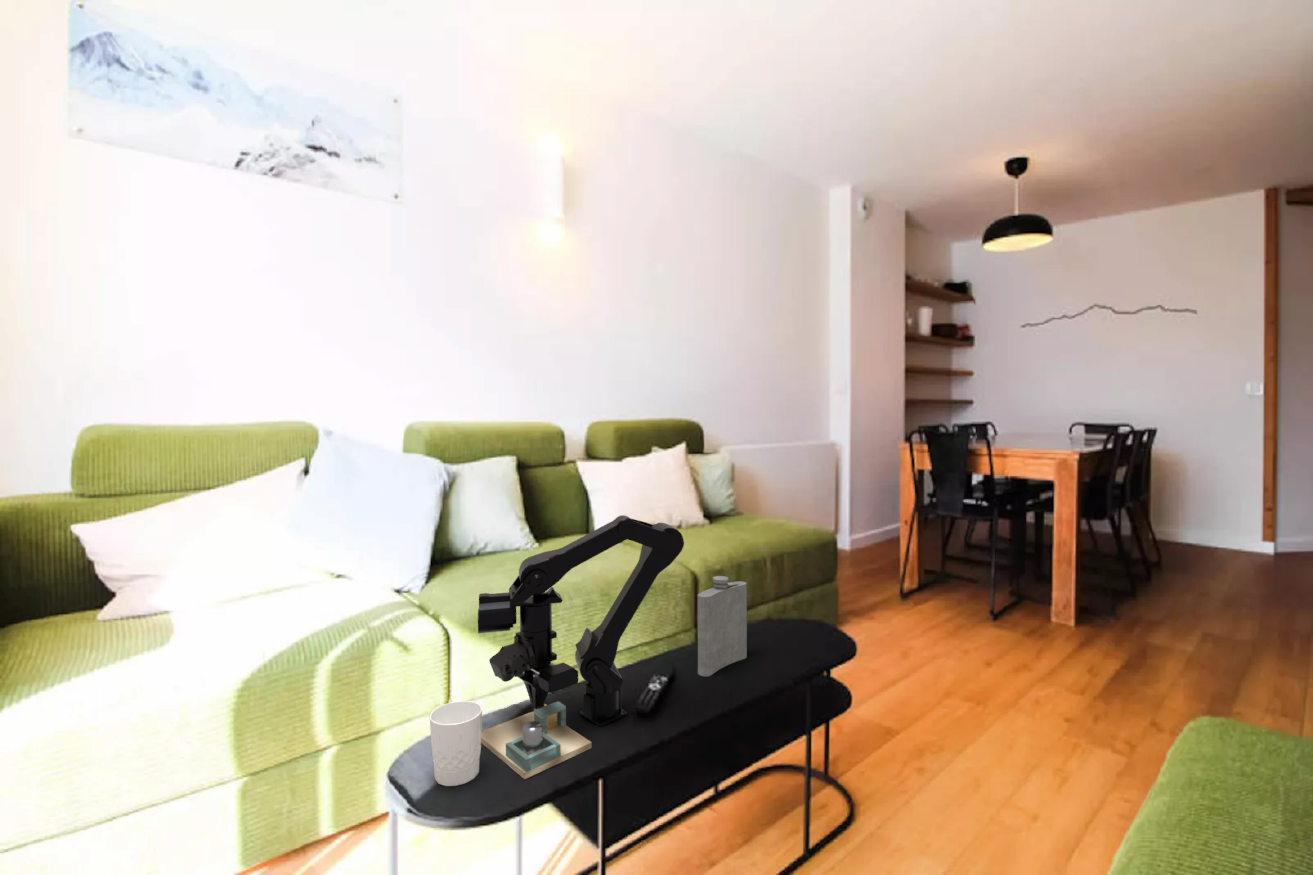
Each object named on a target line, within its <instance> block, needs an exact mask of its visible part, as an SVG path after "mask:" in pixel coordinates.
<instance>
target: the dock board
mask: <svg viewBox="0 0 1313 875" xmlns="http://www.w3.org/2000/svg"><path fill="white" fill-rule="evenodd" d="M546 705H547V706H544V707H541V708H539V709H536V710H533V711H530V712H528V713H525V714H523V715H520V716H517V717H515V718H512V719H509V720H507V721H504V722H502V723H501V722H500V723H498V724H497V725H494V726H491V727H489V728H486V729H483V730H481V745H483V746H484V747H486V749H488V750H489V751H490V752H491V753H492V754H493V755H495V756H496V757H497V758H498V759H499V760H501V761H502V762H503V763H504V764H506V765H507V766H508V767H509V768H510V769H512V770H513V771H514V772H515V773H516V774H518V775H519V776H520V778H522V779H523V780H527V779H529V778H531V777H533V776H535V775H537V774H539V773H541V772H543V771H547V770H548V769H550V768H552V767H554V766H556V765H558V764H560V763H563V762H565V761H566V760H570V759H571V758H573V757H577V756H578V755H580V754H583V753H584V752H587V751H589V750H590V749H593V748H592V747H593V744H592V741H591V740H589V739H587V738H586V737H585V736H583V735H582V734H580V733H578V732H577V731H575V730H573V729H572V728H570V727H569V726H568V725H567V707H566V705H565V704H564V703H562V702H560V701H557V700H556V701H555V702H551V703H549V704H546ZM557 712H558V726H557V727H555V728H553V729H550V730H548V731H547V716H550V715H552V714H555V713H557ZM532 721H537V722H540V723H542V727H543V749H542V750H540V751H538V752H535V753H533V754H531V755H526V754H525V753H524V752H523V725H524V724H526V723H528V722H532Z"/></svg>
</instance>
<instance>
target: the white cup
mask: <svg viewBox="0 0 1313 875" xmlns="http://www.w3.org/2000/svg"><path fill="white" fill-rule="evenodd" d="M482 723H483V706H482V705H481V704H480V703H478V702H476V701H472V700H456V701H451V702H446V703H444V704H442V705H439V706H437V707H436V708H434V709H433V710H432V711H431V713H430V714H429V725H430V727H429V728H430V729H429V730H430V741H431V743H430V744H431V751H432V752H431V754H432V760H433V762H432V763H433V771H434V772H433V773H434V779H435V782H436V783H437V784H439V785H442V786H444V787H457V786H460V785H464V784H467V783H469V782H471V781H472V780H474V779H475V778H476V777H477V776H478V774H479V773H480V757H481V753H482V752H481V747H482V743H481V731H483V730H482V727H483V726H482V725H483V724H482Z"/></svg>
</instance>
